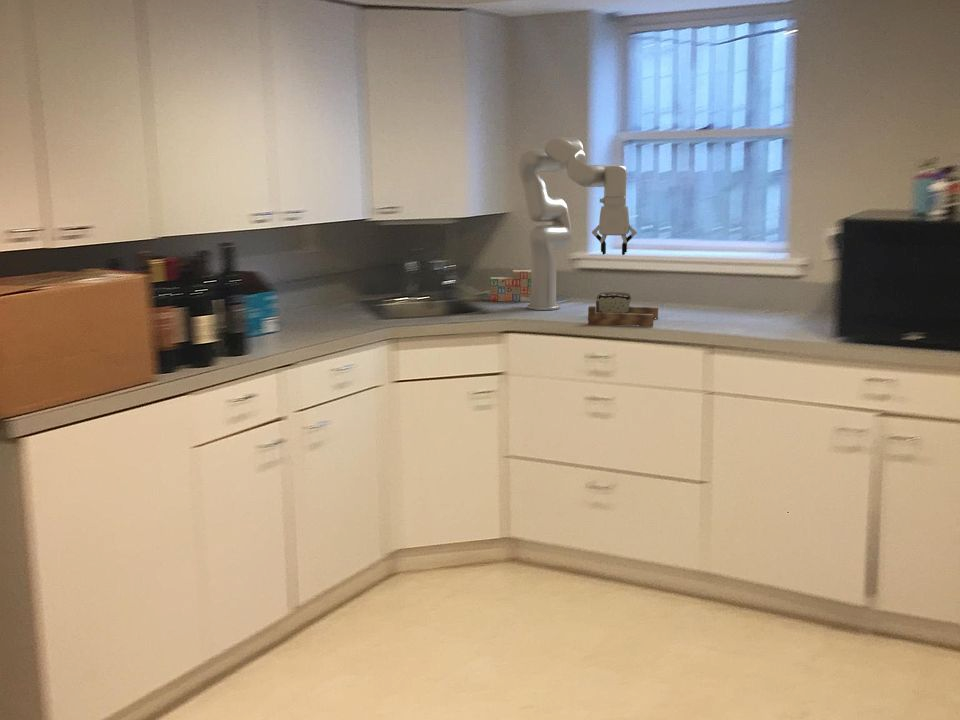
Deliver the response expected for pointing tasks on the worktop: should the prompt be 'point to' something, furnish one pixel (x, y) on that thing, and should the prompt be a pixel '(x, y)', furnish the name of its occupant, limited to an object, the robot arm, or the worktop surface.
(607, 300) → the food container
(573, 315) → the worktop surface
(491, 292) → the stack of blocks
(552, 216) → the robot arm
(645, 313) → the wooden tray
